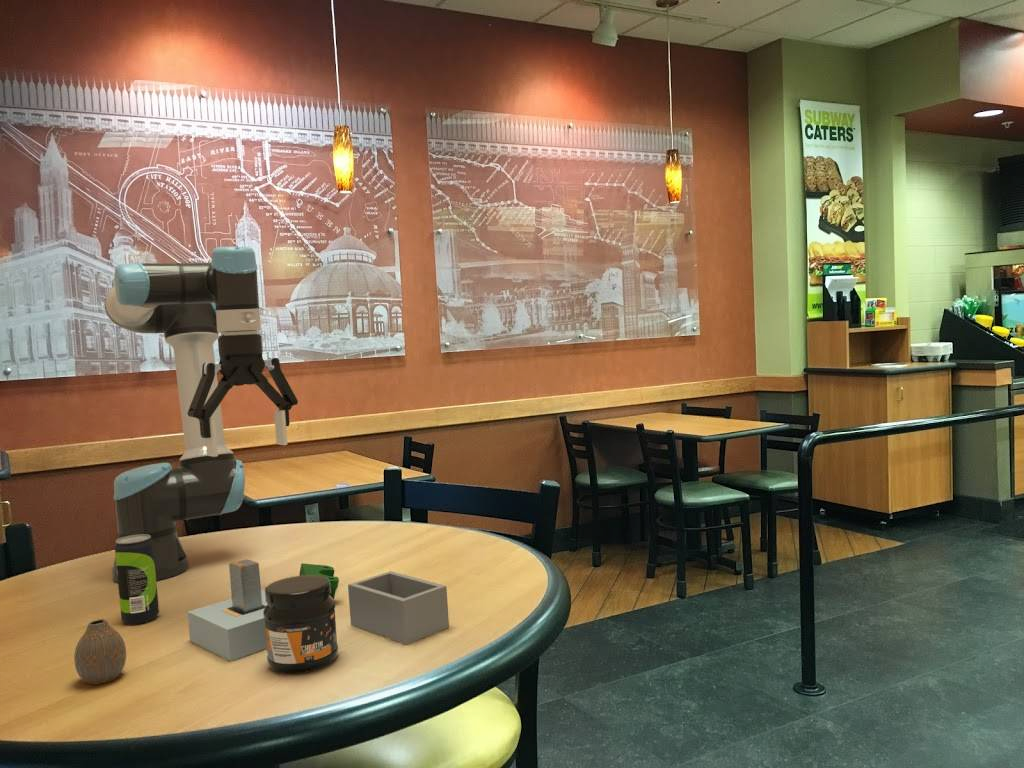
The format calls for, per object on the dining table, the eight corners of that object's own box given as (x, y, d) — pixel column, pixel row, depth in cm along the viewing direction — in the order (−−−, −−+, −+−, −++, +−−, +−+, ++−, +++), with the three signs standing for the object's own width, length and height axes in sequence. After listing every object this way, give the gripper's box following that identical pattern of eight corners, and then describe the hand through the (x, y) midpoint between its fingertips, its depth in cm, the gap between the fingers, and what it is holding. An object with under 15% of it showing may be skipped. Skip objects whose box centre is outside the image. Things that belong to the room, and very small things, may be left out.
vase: (88, 671, 125) (83, 615, 124) (135, 667, 125) (130, 611, 125) (68, 691, 118) (62, 632, 117) (117, 686, 118) (111, 627, 118)
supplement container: (272, 682, 117) (265, 600, 116) (263, 657, 126) (257, 581, 126) (345, 666, 121) (339, 587, 120) (331, 643, 130) (326, 569, 130)
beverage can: (167, 614, 149) (159, 534, 148) (141, 627, 143) (133, 543, 142) (140, 612, 151) (133, 533, 150) (113, 624, 145) (106, 542, 144)
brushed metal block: (234, 634, 135) (228, 562, 135) (252, 628, 138) (246, 558, 137) (246, 639, 133) (240, 566, 132) (264, 633, 135) (258, 561, 134)
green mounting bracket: (330, 626, 150) (340, 587, 147) (297, 624, 148) (307, 585, 145) (327, 585, 161) (337, 547, 158) (296, 582, 159) (305, 544, 156)
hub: (190, 641, 135) (187, 611, 135) (266, 616, 145) (264, 588, 145) (230, 661, 125) (227, 629, 125) (309, 633, 135) (307, 603, 135)
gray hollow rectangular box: (350, 624, 138) (347, 584, 138) (393, 609, 145) (390, 571, 144) (406, 644, 128) (403, 601, 127) (449, 627, 134) (446, 586, 134)
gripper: (179, 337, 135) (190, 463, 137) (311, 329, 153) (318, 441, 155) (161, 337, 140) (171, 458, 142) (290, 330, 158) (298, 438, 160)
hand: (248, 450), depth 148 cm, fingers open, 13 cm apart
